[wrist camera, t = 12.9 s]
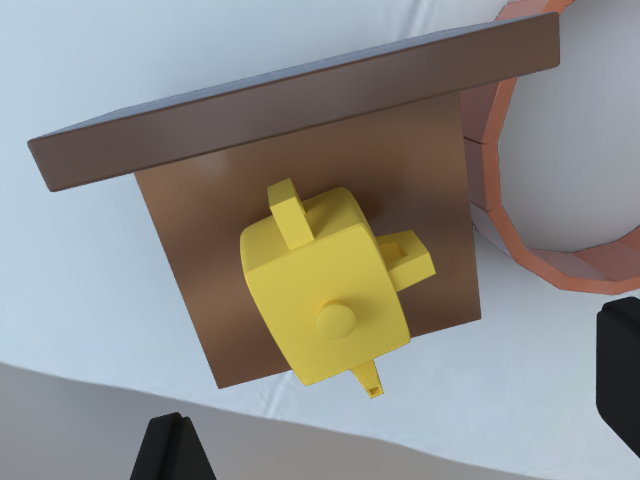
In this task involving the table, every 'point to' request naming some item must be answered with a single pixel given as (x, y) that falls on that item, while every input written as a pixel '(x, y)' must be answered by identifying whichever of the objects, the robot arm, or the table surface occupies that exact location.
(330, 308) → the teapot
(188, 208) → the miniature wooden seat
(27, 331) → the table surface
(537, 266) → the ring
